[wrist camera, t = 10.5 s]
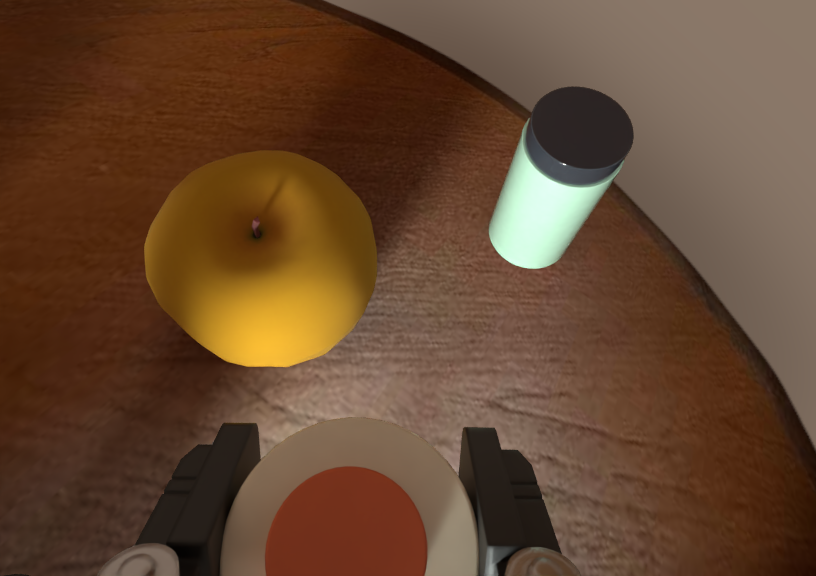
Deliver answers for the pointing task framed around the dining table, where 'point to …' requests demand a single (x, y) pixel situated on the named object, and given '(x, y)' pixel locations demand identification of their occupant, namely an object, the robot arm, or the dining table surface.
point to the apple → (263, 258)
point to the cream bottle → (351, 508)
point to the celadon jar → (558, 174)
